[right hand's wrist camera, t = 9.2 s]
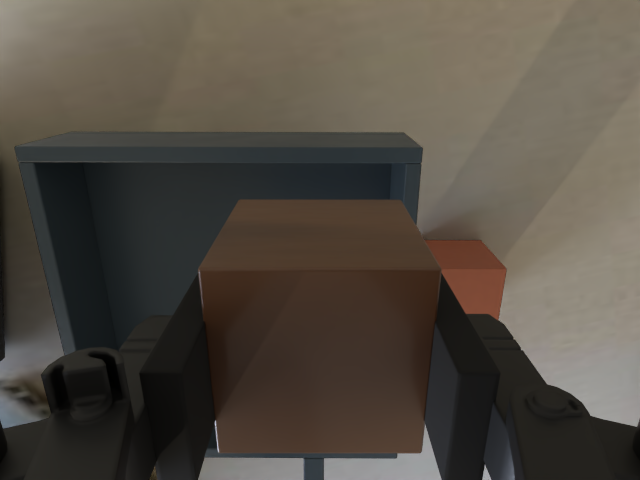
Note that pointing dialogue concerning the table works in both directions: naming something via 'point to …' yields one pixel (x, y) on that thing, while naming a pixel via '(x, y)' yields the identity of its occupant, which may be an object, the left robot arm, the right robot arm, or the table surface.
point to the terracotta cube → (471, 274)
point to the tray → (181, 216)
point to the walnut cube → (319, 327)
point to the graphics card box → (1, 315)
